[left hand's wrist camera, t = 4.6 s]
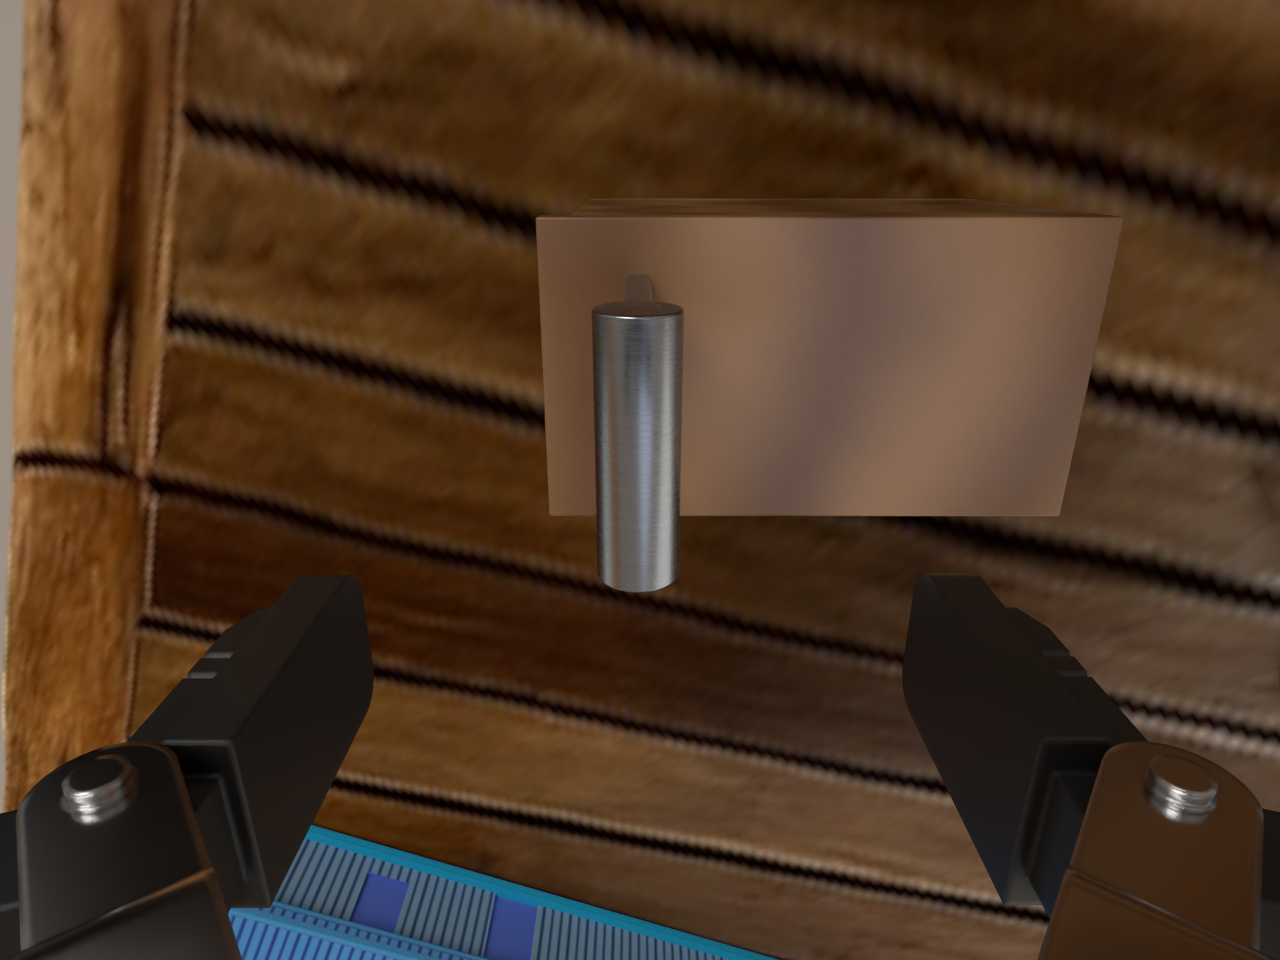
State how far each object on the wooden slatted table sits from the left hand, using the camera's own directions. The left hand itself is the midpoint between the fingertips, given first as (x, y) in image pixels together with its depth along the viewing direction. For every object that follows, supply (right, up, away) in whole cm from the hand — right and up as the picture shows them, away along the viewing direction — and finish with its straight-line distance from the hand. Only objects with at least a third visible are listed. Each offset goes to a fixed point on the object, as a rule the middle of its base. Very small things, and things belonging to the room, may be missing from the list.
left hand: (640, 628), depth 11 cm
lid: (+6, +6, +14) cm, 16 cm away
